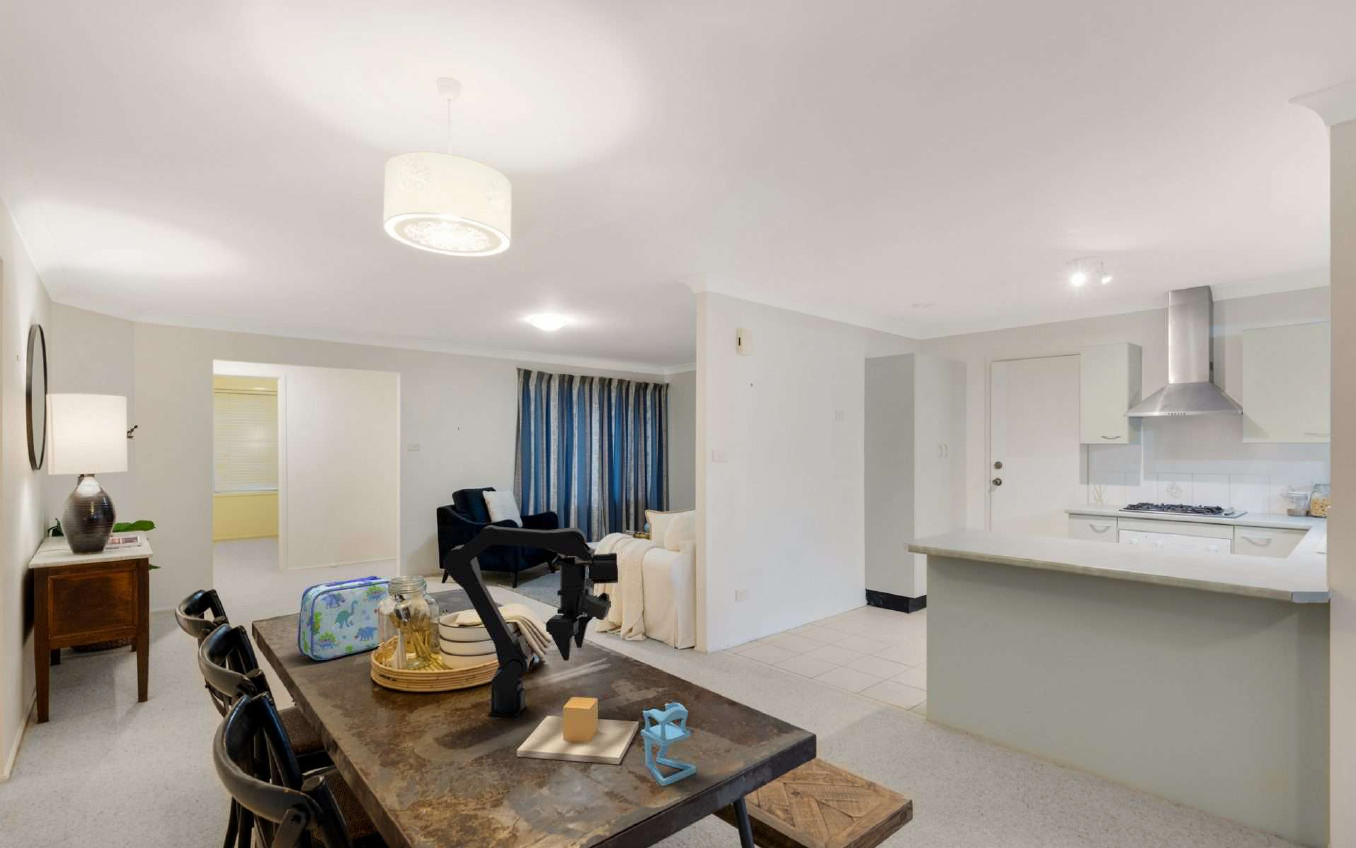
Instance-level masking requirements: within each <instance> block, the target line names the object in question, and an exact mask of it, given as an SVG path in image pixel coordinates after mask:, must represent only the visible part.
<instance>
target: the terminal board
mask: <svg viewBox="0 0 1356 848" xmlns="http://www.w3.org/2000/svg"><path fill="white" fill-rule="evenodd" d="M638 730H639V721H633V720H632V721H631V720H617V719H603V718H602V719H601V718H598V731H597V732H596V734H595V735H594V737H593V738H592V740H591V741H590V742H580V741H566V740H563V716H555V715H547V716H546V717H545V718H544V719H543V720H542V721H541V722H540V724H538V726H537V727H536V728H535V729H534V730H533V732H532V733H530V735H529V736H528V737H527V738H525V739H526V740H525V741H523V742H522V744H521V745H520V746H519V748H517V750H516V756H517V757H518V758H519V757H520V758H531V759H533V758H534V759H546V760H558V761H559V760H560V761H573V762H586V763H595V764H596V763H598V764H611V765H612V764H613V765H620V764H621V762H622V760H623V758H624V755H625V754H626V752H627V750H628V748H629V747H630V744H631V742H632V741H633V738H634V737H635V735H636V733H637V731H638Z"/></svg>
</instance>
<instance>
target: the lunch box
mask: <svg viewBox="0 0 1356 848" xmlns="http://www.w3.org/2000/svg"><path fill="white" fill-rule="evenodd" d="M390 581H392V580H390V579H386V578H383V577H378V576H377V575H370V576H367V577H362V578H357V579H350V580H344V581H333V582H328V583H319V584H315V585H311V586H309V587H307V588H306V589H305V590H304V591H303V593H302V595H301V603H300V611H299V612H300V613H299V620H298V628H297V629H298V631H297V646H298V649H299V652H300V654H302V655H304V656H309V657H310V658H312V659H313V660H317V661H327V660H332V659H335V658H340V657H343V656H347V655H348V656H349V655H350V654H351V655H352V654H355V653H360V652H363V651H368V650H372V649H375V648H376V647H377V645H378V602H380V601H381V600H383V599H385V598H387V597H388V595H389V593H388V584H389V582H390ZM377 648H378V647H377Z"/></svg>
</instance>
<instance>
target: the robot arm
mask: <svg viewBox="0 0 1356 848" xmlns="http://www.w3.org/2000/svg"><path fill="white" fill-rule="evenodd" d="M586 539H587V538H586V535H585V533H584V532H583V530H582V529H581V528H578V527H567V528H566V527H565V528H557V529H556V528H555V529H550V530H549V529H548V530H544V529H543V530H541V529H532V528H531V529H529V528H519V527H507V526H505V527H504V526H496V525H492V524H490V525H487V526H486V527H484V528H483V529H482V530H481V531H480V532H479V533H478V534H477V535H475V536H474V537H473V538H472V539H471V540H469V541H468V542H467V543H465V544H461V545H457V546H455V547H454V548H452V549H451V550H449V551H448V552H447V553H446V554H445V556H444V557H443V561H442V565H443V569H444V570H445V571H446V573H447V574H448V575H449V576H450V578H452V580H453V581H454V582H455V583H456V584H457V585H458V586H459V587H461V588H462V589H463V590H464V592H465V594H466V595H467V597H468V599H469V602H470V603H471V604H472V607H473V608H474V610H475V612H476V613H477V615H478V618H479V619H480V621H481V623H482V624H483V627H484V628H485V629H486V632H487V634H488V636H489V637H490V639H491V641H492V642H493V645H494V647H495V654H496V659H497V661H498V662H497V663H498V666H497V668H496V670H495V672H494V674H493V676H492V678H491V679H490V687H491V688H490V710H489V711H488V712H487V715H488V716H493V717H494V716H495V717H511V718H514V717H517V715H519V713H520V712H522V710H524V709H525V707H526V706H527V703H526V689H525V687H524V681H523V680H521V679H522V678H523V677H525V675H526V674H527V673H528V670H529V666H530V664H531V660H532V655H531V652H532V648H531V647H530V646H529V645H528V643H527V641H526V639H525V636H524V635H523V634H521V635H520V636H518V637H517V636H516V634H514V633H513V632H512V631H511V629H510V627H509V625H508V624H507V621H506V620H505V618H504V616H503V615H502V613H501V611H500V609H499V608H498V606H497V604H496V602H495V600H494V598H493V597H492V595H491V593H490V591H489V589H488V587H487V585H486V584H485V582H484V579H483V577H482V573H481V568H480V564H479V561H478V558H477V557H478V556H479V555H480V554H481V553H483V551H485V550H487V548H488V547H489V546H492V545H495V546H496V545H498V546H510V547H511V546H512V547H519V548H521V547H524V548H533V549H534V548H536V549H543V550H548V551H550V552H554V553H557V556H556V557H555V558H554V559H553V560H552V562H551V566H552V567H554V566H555V567H556V566H557V567H559V570H560V571H559V575H560V577H559V583H560V584H559V587H560V588H559V589H558V590H557V594H556V595H557V596H559V598H560V600H559V601H560V602H559V604H560V606H559V608H557V611H556V612H557V614H554V615H552V616H551V618H549V619H548V620H547V622H546V623H545V631H546V633H548V635H550V636H551V638H552V640H553V641H554V644H555V645H556V647H557V650H558V651H559V653H560V655H561V657H562V659H563V661H569V660H570V656H571V650H572V649H571V648H572V643H573V639H574V642H575V645H576V648H578V649H581V648H583V645H584V641H585V637H586V633H587V629H588V625H589V622H591V621H592V620H593V618H595V619H597V620H599V621H603V620H605V619H606V618H607V617H608V613H609V611H610V609H611V608H612V601H611V600H610V594H609V593H606V592H601V594H600V595H597V594H595V595H592V594H591V593H590V588H589V587H588V586H587V585H586V583H587V582H586V581H587V580H586V579H587V578H586V573H587V572H586V571H587V570H586V569H587V568H586V567H587V566H588V580H590V581H591V582H593V585H596V584H597V585H599V584H618V583H619V567H618V554H617V552H610V553H594V552H593V549H592V548H591V547H590V546H589V544H587V541H586ZM563 555H564V556H563ZM577 558H579V559H580V560H579V559H577Z"/></svg>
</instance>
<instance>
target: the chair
mask: <svg viewBox="0 0 1356 848" xmlns="http://www.w3.org/2000/svg"><path fill="white" fill-rule="evenodd" d="M664 707H665V711H661V710H659V709H656V708H653V709H649V710H642V714H643V715H642V716H643V719H644V721H645V727H644V729H641V730H640V736H642V739H643V741H644V750H645V751H644V752H645V767H646V768H647V769H649V770H650V772H651V774H652V775H653V776H654V777H653V778H655V780H656V781H657V782H658V783H659V785H660V786H662V787H667V786H668V785H671V784H673V783H676V782H678V781H680V780H683V779H684V778H688V777H690V776H691V775H694V774H695V773H696V772H697V769H696V766H695V765H692V764H689V763H687V762H682V761H679V760H676V759H673V758H668V757H666V756H665V754H666V751H667V750H668V748H669V746H670V744H673V743H675V742H677V741H680V740H685V739H688V738H691V731H690V730H689V729H688V730H687V728H686V727H687V726H686V722H687V719H688V715H689V710H687V709H686V707H684V705H683V704H681V703H679V702H671V703H665V704H664ZM649 717H651V718H652V719H654V720H655V721H656V722H657V723H658V724H656V725H655V726H651V722H650V719H649ZM680 719H682V720H681V722H680V726H678V725H676V724H675V723H674V722H672V721H676V720H680ZM653 744H657V745H658V746H660V748H659V750H658V753H657V754H656V759H655V761H656V762H657V763H659V764H662V765H665V766H669V767H671V768H672V767H673V768H676V769H680V770H682V771H679V772H677V773H675V774H672V775H670V776H667V777H665V778H664V777H663V775H662V773H661V772H660V770H659V769H658V768H657V766H656V764H655V763H654V762H653V755H652V751H653V750H652V745H653Z"/></svg>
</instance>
